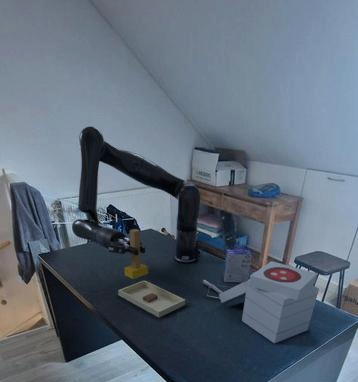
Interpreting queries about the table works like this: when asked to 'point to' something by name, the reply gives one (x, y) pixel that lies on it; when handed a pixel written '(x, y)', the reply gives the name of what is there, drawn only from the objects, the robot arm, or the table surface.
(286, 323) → the pizza boxes
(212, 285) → the crossbow
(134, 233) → the peg stand
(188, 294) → the table surface
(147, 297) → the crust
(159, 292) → the tray
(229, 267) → the ink cartridge box
